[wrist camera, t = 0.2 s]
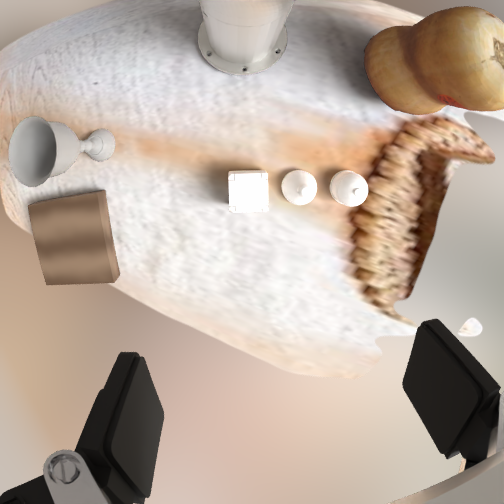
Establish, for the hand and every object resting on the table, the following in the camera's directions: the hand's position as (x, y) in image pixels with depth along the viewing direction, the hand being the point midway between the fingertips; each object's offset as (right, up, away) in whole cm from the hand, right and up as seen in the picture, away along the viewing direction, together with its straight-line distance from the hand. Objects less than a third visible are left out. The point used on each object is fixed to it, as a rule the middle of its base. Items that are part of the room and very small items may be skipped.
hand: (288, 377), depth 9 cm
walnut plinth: (-30, +6, +35) cm, 46 cm away
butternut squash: (+21, +32, +29) cm, 47 cm away
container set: (+6, +14, +35) cm, 38 cm away
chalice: (-24, +20, +30) cm, 43 cm away
